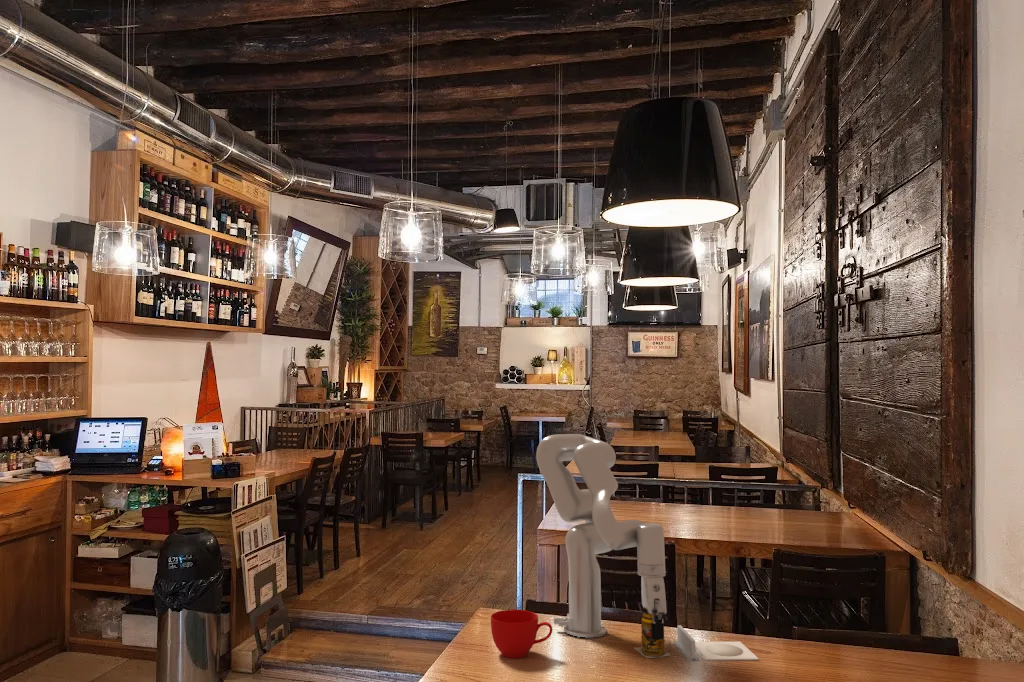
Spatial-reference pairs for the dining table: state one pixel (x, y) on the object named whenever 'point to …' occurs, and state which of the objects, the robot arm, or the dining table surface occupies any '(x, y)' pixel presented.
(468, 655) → the dining table surface
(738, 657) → the pad
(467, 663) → the dining table surface
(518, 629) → the ceramic cup
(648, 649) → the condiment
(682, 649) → the low wall
